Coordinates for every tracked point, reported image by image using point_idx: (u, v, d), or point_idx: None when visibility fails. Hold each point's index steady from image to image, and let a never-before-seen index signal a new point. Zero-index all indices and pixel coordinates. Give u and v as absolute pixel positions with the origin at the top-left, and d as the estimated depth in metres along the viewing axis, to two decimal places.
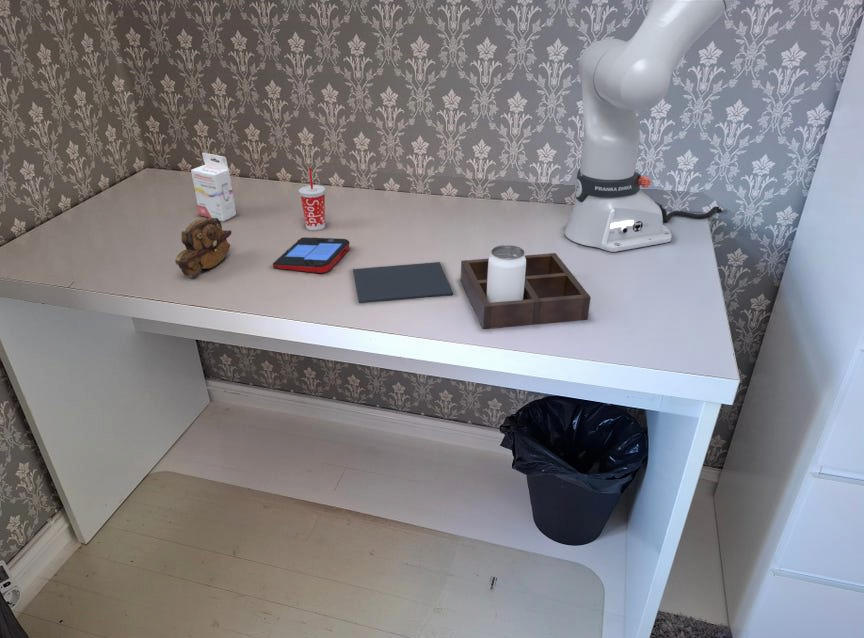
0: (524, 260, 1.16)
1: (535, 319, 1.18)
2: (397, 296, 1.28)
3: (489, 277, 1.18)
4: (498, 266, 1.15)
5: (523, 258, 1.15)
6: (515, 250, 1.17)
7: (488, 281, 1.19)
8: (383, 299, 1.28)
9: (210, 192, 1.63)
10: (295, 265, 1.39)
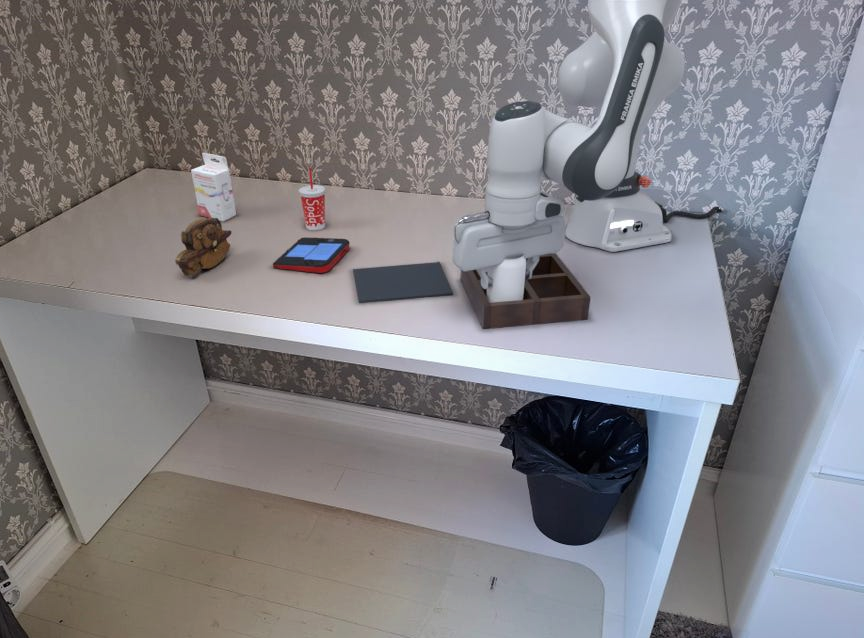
0: (524, 260, 1.16)
1: (535, 319, 1.18)
2: (397, 296, 1.28)
3: None
4: (498, 266, 1.15)
5: (523, 258, 1.15)
6: None
7: None
8: (383, 299, 1.28)
9: (210, 192, 1.63)
10: (295, 265, 1.39)
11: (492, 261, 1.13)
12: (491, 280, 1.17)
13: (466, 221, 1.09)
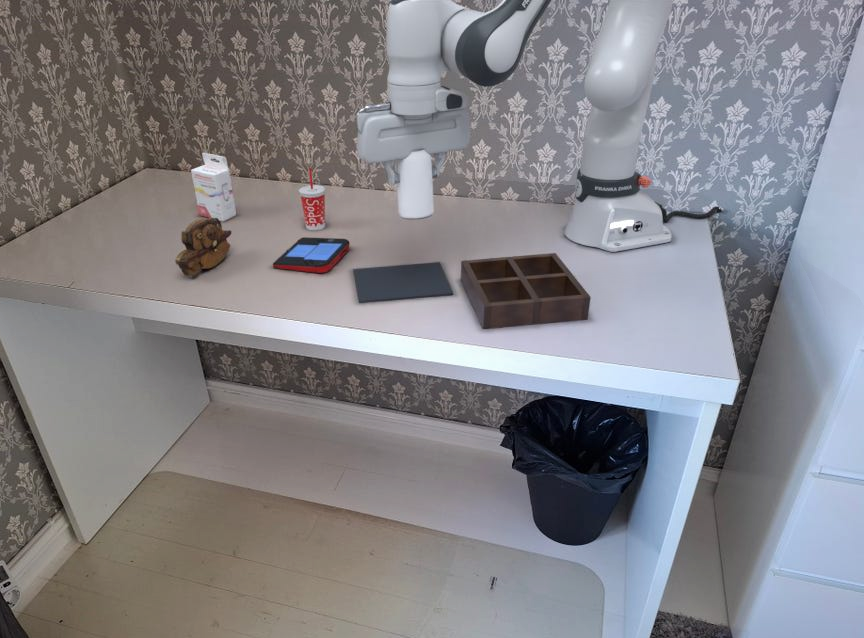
0: (428, 154, 1.17)
1: (535, 319, 1.18)
2: (397, 296, 1.28)
3: None
4: (402, 160, 1.17)
5: None
6: None
7: None
8: (383, 299, 1.28)
9: (210, 192, 1.63)
10: (295, 265, 1.39)
11: (396, 154, 1.15)
12: (397, 175, 1.18)
13: (367, 110, 1.11)
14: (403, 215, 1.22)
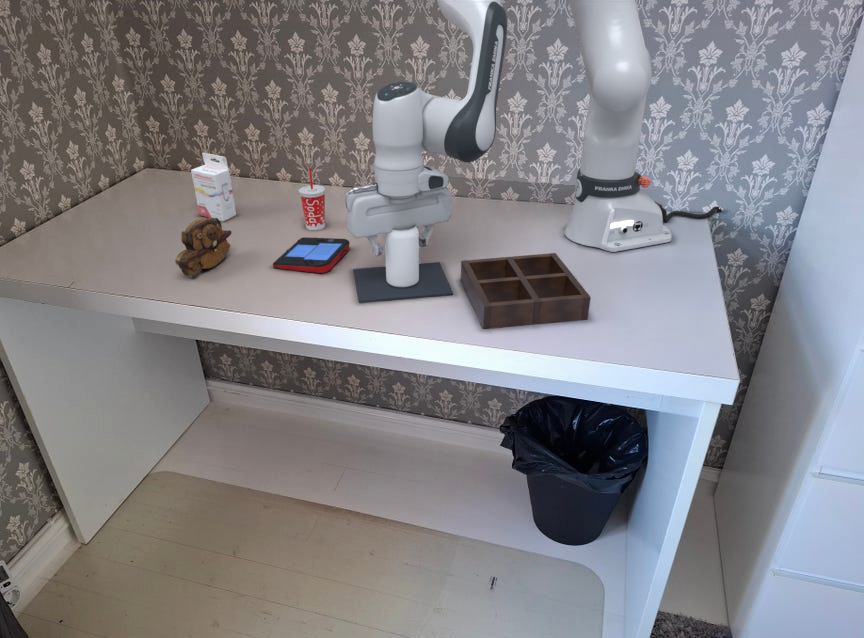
0: (416, 231, 1.26)
1: (535, 319, 1.18)
2: (397, 296, 1.28)
3: (385, 247, 1.29)
4: (391, 237, 1.26)
5: (414, 230, 1.26)
6: None
7: (385, 251, 1.29)
8: (383, 299, 1.28)
9: (210, 192, 1.63)
10: (295, 265, 1.39)
11: (383, 229, 1.25)
12: (381, 248, 1.28)
13: (355, 191, 1.20)
14: (390, 283, 1.31)
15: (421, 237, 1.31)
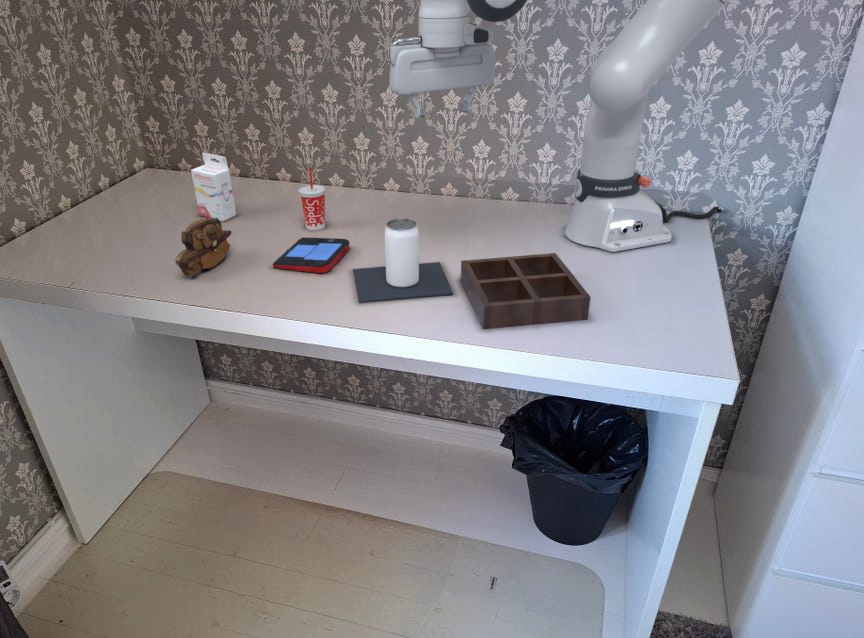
0: (415, 231, 1.27)
1: (535, 319, 1.18)
2: (397, 296, 1.28)
3: (385, 247, 1.29)
4: (391, 237, 1.26)
5: (414, 229, 1.26)
6: (409, 223, 1.28)
7: (385, 251, 1.30)
8: (383, 299, 1.28)
9: (210, 192, 1.63)
10: (295, 265, 1.39)
11: (426, 86, 1.23)
12: (423, 109, 1.25)
13: (400, 43, 1.18)
14: (390, 283, 1.31)
15: (463, 101, 1.29)
